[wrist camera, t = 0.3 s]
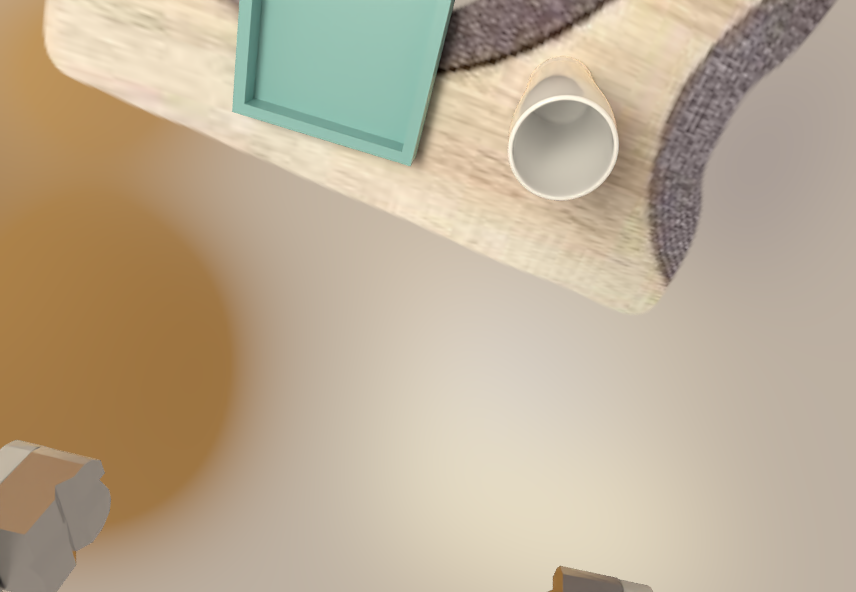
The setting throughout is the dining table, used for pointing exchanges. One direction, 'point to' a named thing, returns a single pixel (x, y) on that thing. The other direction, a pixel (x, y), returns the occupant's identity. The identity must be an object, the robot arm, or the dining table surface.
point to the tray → (342, 69)
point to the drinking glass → (562, 132)
